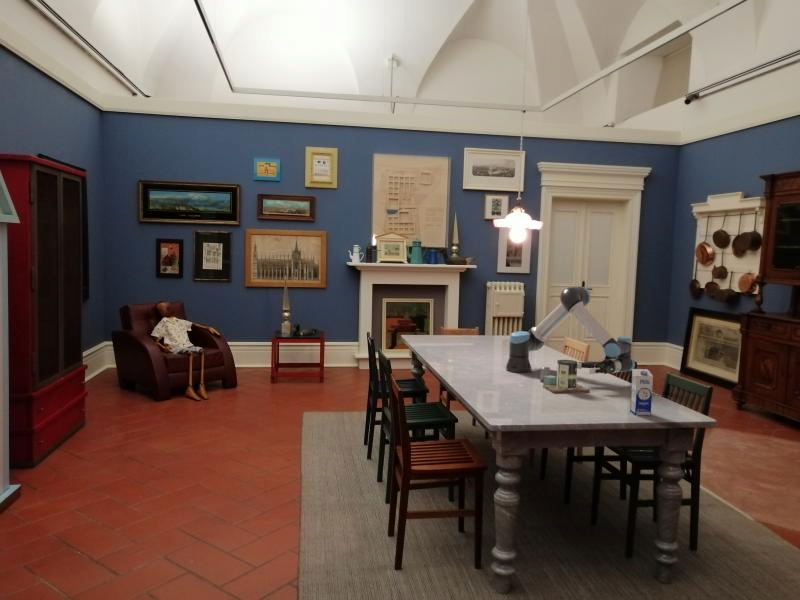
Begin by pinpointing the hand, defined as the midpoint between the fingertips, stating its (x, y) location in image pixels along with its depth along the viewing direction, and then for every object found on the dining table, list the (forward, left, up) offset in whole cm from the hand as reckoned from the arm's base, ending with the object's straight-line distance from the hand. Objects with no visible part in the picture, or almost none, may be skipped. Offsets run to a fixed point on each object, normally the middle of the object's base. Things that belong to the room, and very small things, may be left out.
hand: (580, 368), depth 307 cm
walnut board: (+3, -9, -10) cm, 14 cm away
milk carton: (+49, +4, -11) cm, 50 cm away
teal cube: (-8, -13, -11) cm, 19 cm away
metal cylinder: (-17, -12, -11) cm, 24 cm away
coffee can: (+3, -9, -9) cm, 14 cm away
